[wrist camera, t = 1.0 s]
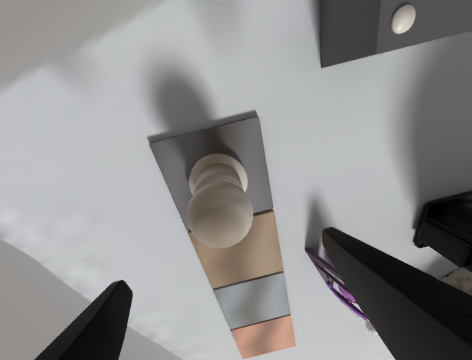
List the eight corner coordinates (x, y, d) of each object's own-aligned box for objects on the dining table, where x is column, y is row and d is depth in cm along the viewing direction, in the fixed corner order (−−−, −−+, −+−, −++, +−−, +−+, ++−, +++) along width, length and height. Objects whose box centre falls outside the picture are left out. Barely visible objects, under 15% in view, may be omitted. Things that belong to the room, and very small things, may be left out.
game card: (357, 301, 15) (381, 344, 19) (396, 256, 16) (411, 305, 19) (299, 253, 21) (326, 292, 25) (330, 223, 22) (351, 265, 25)
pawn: (239, 146, 15) (259, 184, 8) (250, 196, 17) (273, 256, 11) (181, 160, 15) (158, 209, 8) (199, 209, 17) (191, 277, 10)
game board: (257, 116, 14) (258, 116, 14) (294, 342, 30) (295, 345, 29) (150, 142, 14) (148, 143, 14) (242, 356, 30) (243, 359, 29)
